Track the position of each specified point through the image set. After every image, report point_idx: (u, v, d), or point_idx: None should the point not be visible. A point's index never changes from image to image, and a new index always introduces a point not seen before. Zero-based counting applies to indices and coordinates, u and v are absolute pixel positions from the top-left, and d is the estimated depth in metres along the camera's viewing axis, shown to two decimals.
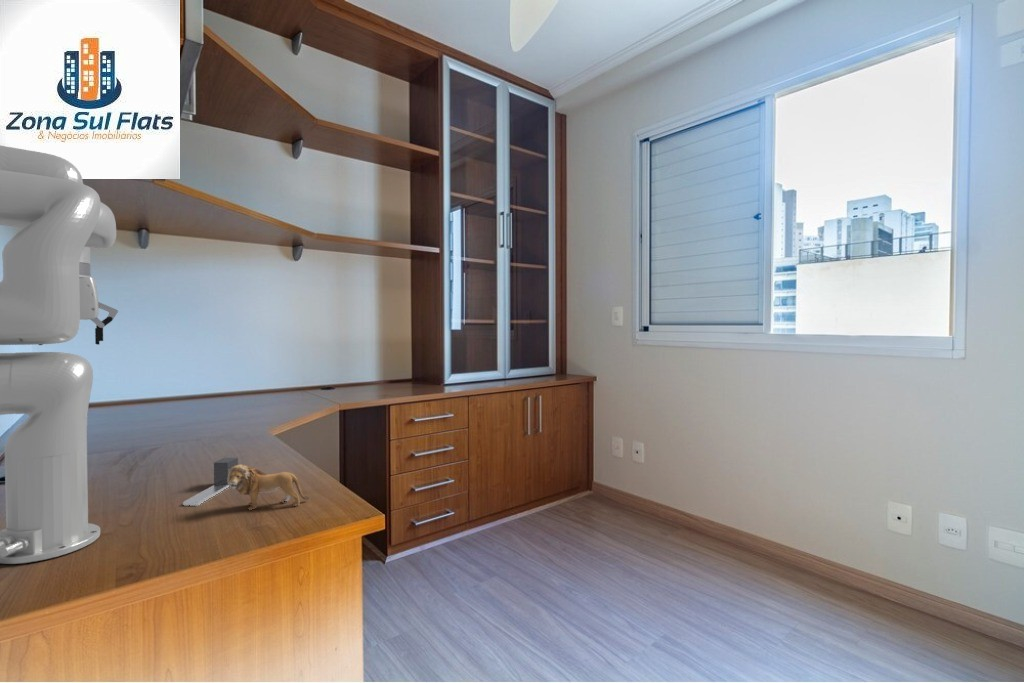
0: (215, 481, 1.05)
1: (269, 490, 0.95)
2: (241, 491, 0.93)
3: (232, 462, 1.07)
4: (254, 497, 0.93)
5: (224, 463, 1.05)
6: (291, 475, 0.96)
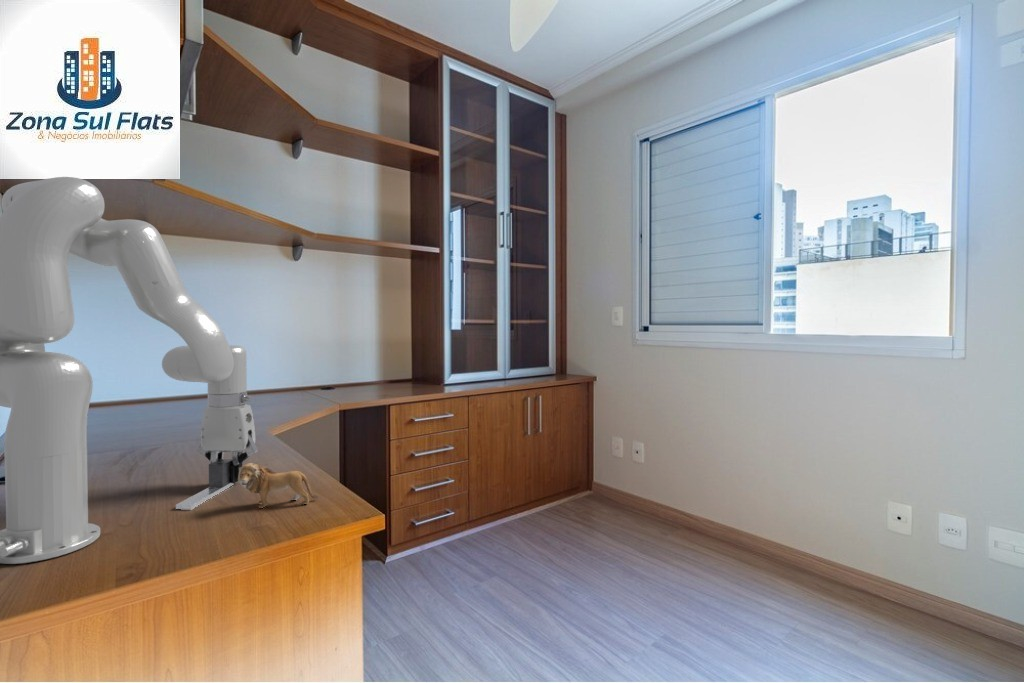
0: (210, 484, 1.03)
1: (279, 489, 0.96)
2: (251, 489, 0.94)
3: (227, 464, 1.05)
4: (264, 495, 0.94)
5: (219, 465, 1.03)
6: (300, 474, 0.97)
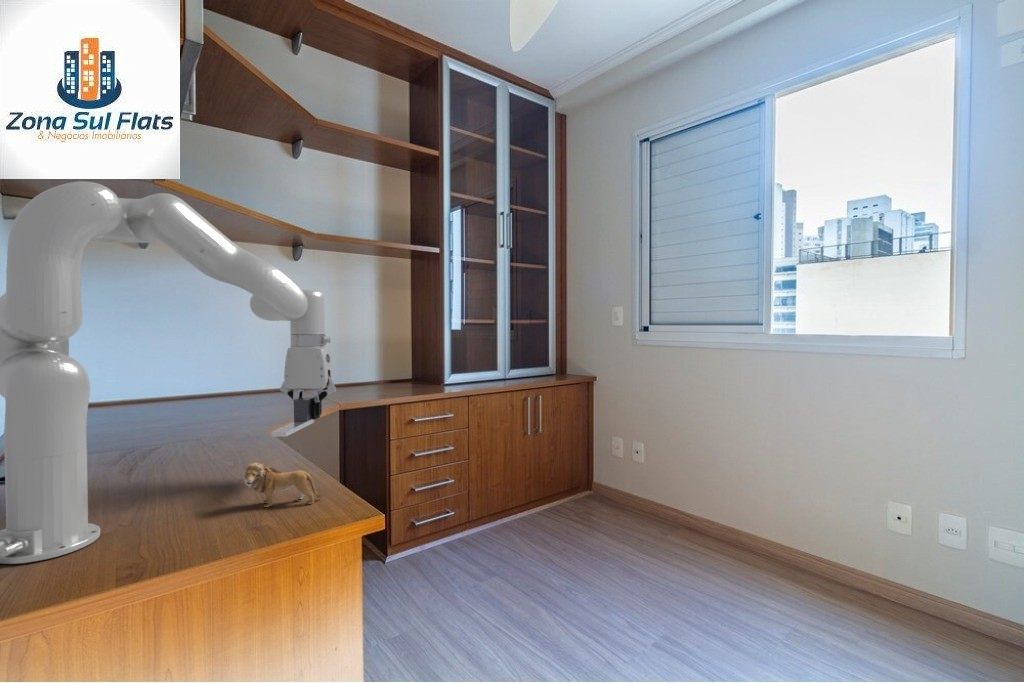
0: (295, 418, 1.10)
1: (284, 488, 0.96)
2: (257, 489, 0.94)
3: (310, 401, 1.11)
4: (269, 495, 0.95)
5: (303, 401, 1.09)
6: (305, 473, 0.97)
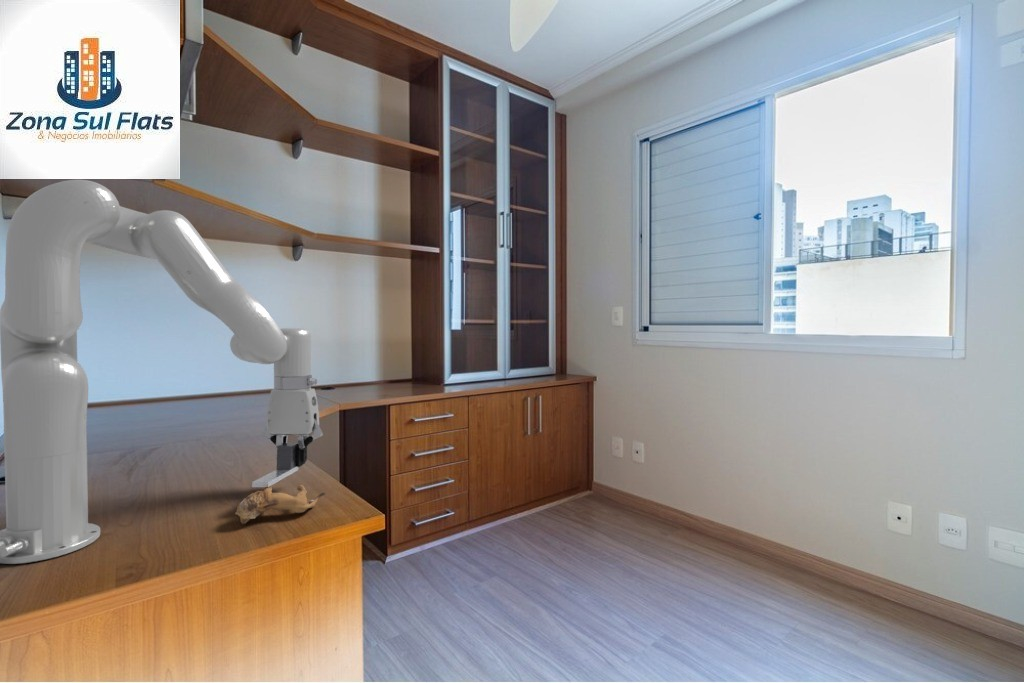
0: (277, 466, 1.02)
1: None
2: None
3: (295, 447, 1.04)
4: None
5: (288, 447, 1.02)
6: (304, 509, 0.90)
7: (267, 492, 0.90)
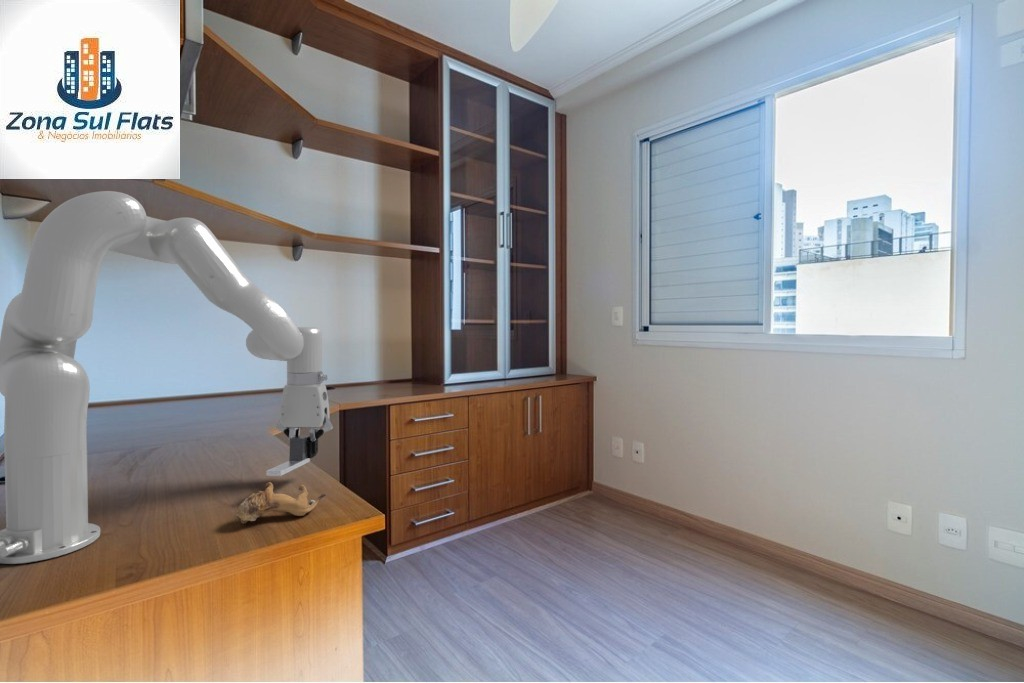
0: (290, 457, 1.08)
1: None
2: None
3: (306, 439, 1.10)
4: None
5: (300, 439, 1.08)
6: (304, 512, 0.90)
7: (269, 493, 0.89)
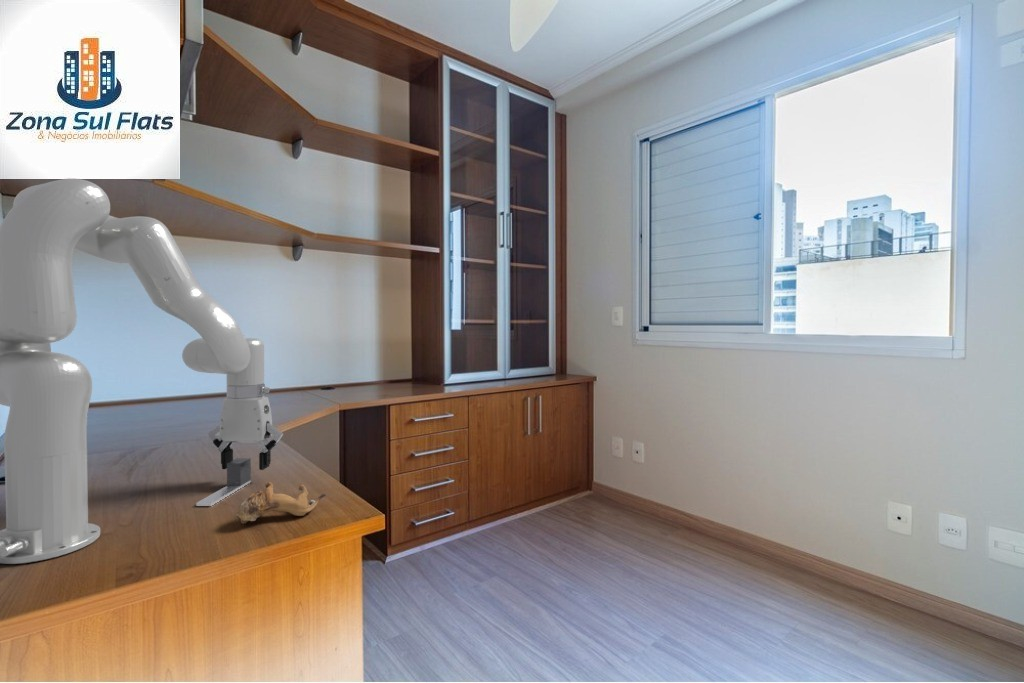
0: (228, 482, 1.05)
1: None
2: None
3: (245, 463, 1.06)
4: None
5: (237, 464, 1.04)
6: (304, 512, 0.90)
7: (269, 493, 0.89)
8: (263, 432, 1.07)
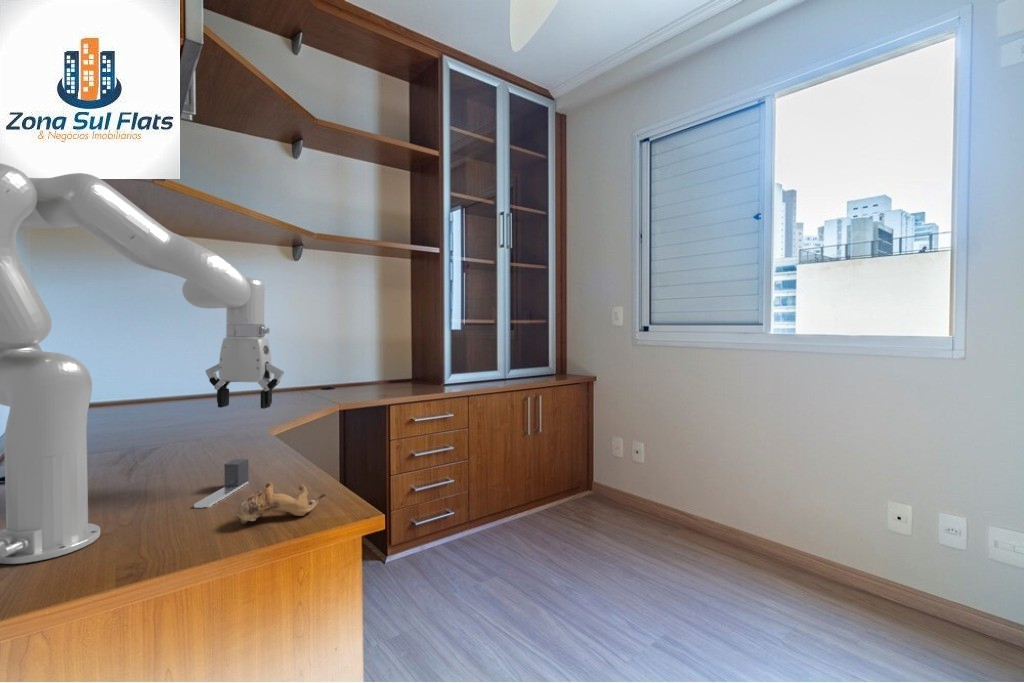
0: (225, 483, 1.04)
1: None
2: None
3: (243, 464, 1.06)
4: None
5: (235, 465, 1.04)
6: (304, 512, 0.90)
7: (269, 493, 0.89)
8: (262, 370, 1.06)
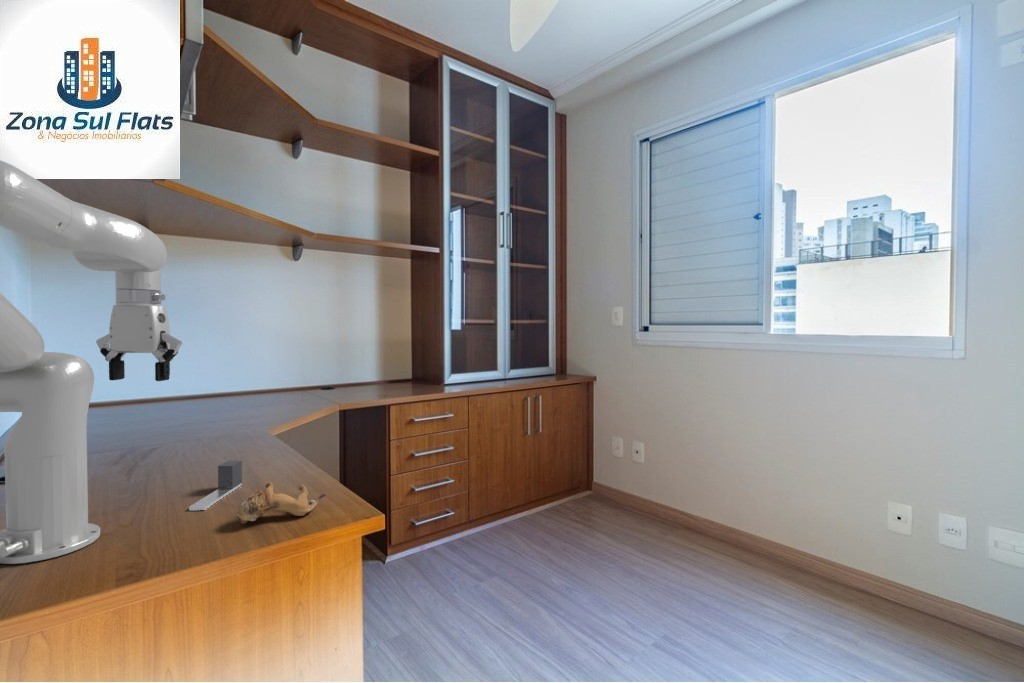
0: (219, 485, 1.02)
1: None
2: None
3: (236, 465, 1.04)
4: None
5: (229, 466, 1.03)
6: (304, 512, 0.90)
7: (269, 493, 0.89)
8: (156, 340, 0.98)
